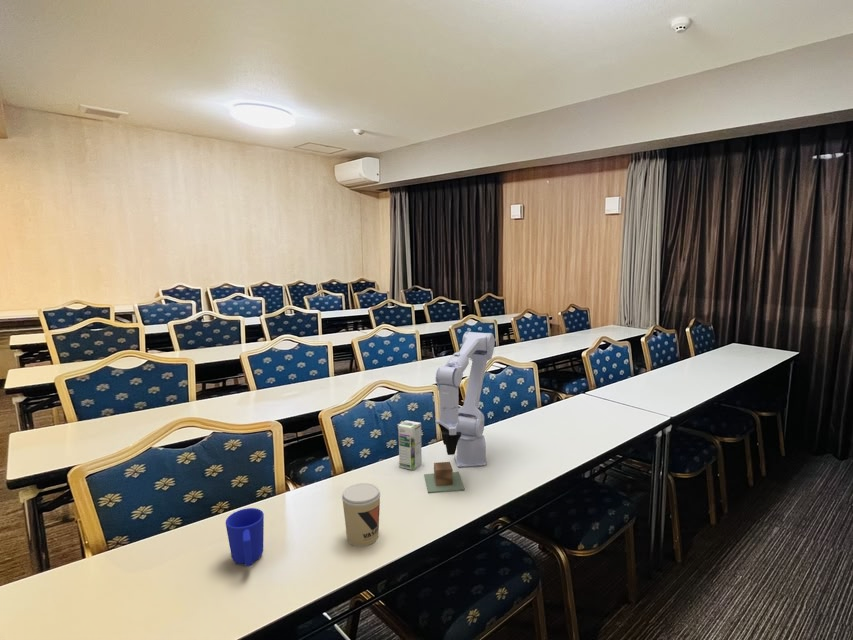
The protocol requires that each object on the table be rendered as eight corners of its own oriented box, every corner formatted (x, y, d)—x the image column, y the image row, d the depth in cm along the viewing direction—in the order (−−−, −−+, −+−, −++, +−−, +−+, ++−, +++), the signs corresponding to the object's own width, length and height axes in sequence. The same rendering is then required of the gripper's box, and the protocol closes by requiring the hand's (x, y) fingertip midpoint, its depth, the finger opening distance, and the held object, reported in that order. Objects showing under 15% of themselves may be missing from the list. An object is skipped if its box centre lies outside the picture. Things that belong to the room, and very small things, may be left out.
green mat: (458, 472, 148) (458, 471, 148) (465, 490, 137) (465, 489, 137) (424, 475, 146) (424, 474, 146) (428, 493, 136) (428, 491, 136)
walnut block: (450, 476, 144) (449, 461, 144) (452, 484, 139) (452, 469, 139) (434, 478, 144) (433, 462, 143) (436, 486, 139) (436, 470, 138)
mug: (229, 584, 100) (225, 541, 98) (228, 551, 111) (225, 512, 109) (269, 573, 103) (266, 531, 101) (265, 542, 114) (262, 504, 112)
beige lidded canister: (365, 553, 109) (363, 505, 107) (335, 540, 114) (333, 495, 112) (389, 532, 117) (387, 488, 115) (360, 522, 122) (358, 479, 120)
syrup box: (398, 467, 152) (397, 425, 150) (407, 460, 157) (406, 419, 155) (413, 471, 150) (412, 428, 147) (422, 463, 155) (421, 421, 153)
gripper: (432, 399, 146) (432, 440, 148) (439, 414, 132) (439, 460, 133) (454, 398, 147) (454, 439, 148) (463, 413, 132) (463, 458, 134)
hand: (449, 449), depth 141 cm, fingers open, 7 cm apart
